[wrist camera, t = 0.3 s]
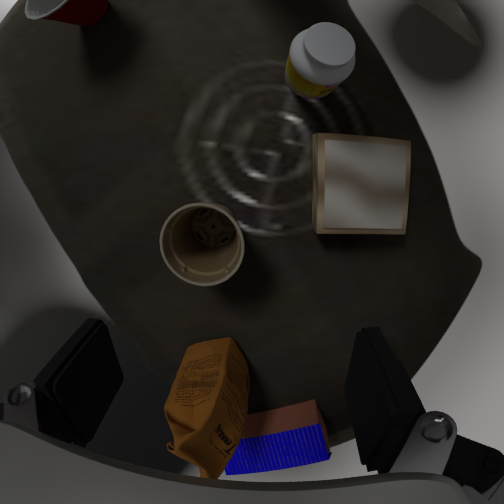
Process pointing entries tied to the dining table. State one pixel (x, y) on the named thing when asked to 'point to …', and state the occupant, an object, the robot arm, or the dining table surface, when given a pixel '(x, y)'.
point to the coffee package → (209, 405)
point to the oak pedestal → (360, 184)
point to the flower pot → (202, 244)
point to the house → (281, 440)
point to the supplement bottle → (320, 60)
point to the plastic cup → (67, 10)
